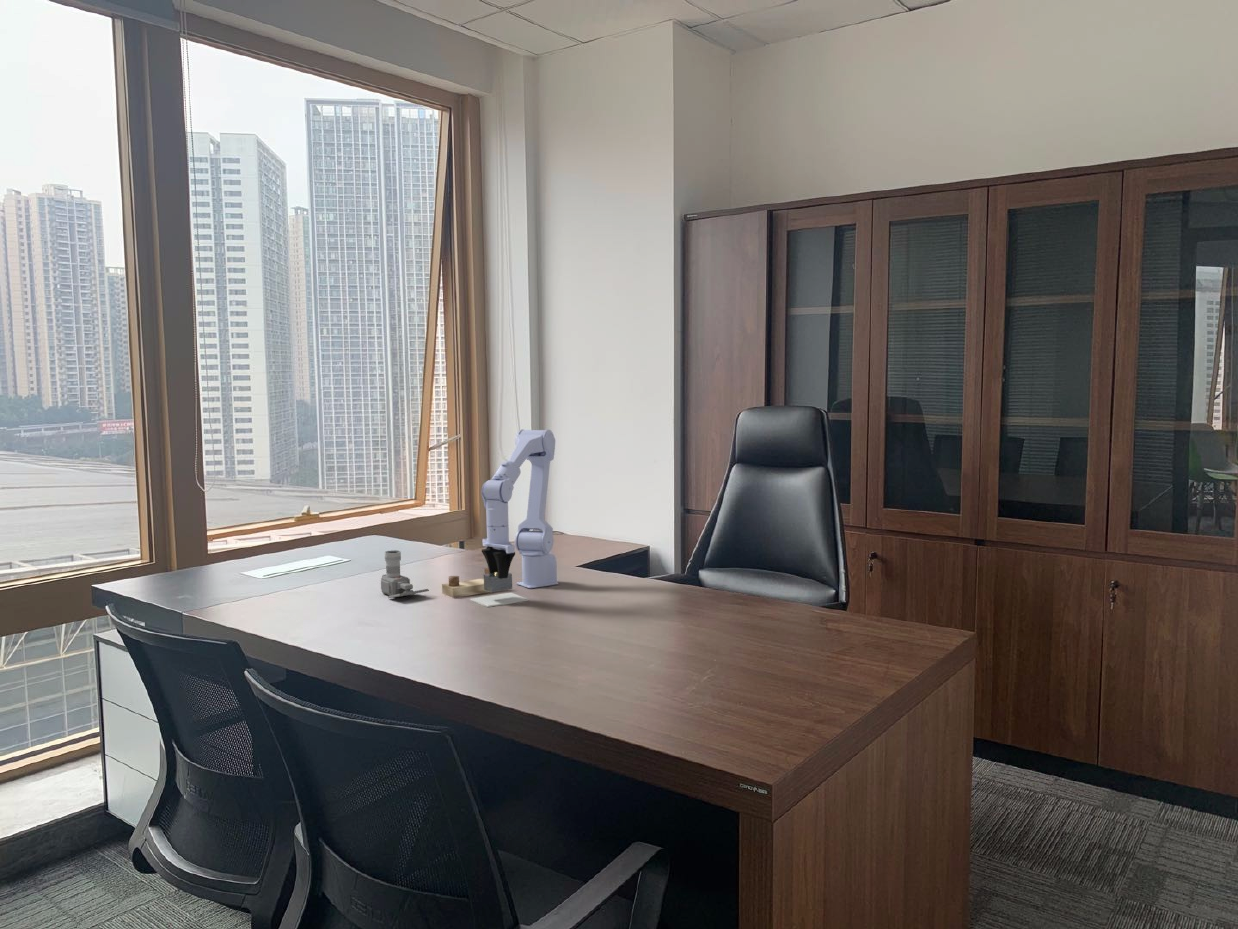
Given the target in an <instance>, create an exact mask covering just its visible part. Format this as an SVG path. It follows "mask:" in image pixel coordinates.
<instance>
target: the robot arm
mask: <svg viewBox="0 0 1238 929" xmlns="http://www.w3.org/2000/svg"><path fill="white" fill-rule="evenodd" d="M514 441H515V442H514V443H515V447H514V448H513V450H512V452H511V454H510V456H509V459H508V460H505V461H502V462H501V465H500V466H499V467H498V469H497V470H496V471H495V473H494V475H493V476H492V478H491V479H489V480H487V481H485V482H484V483H483V484H482V487H481V491H480V494H481V495H480V496H481V498H482V500H483V506H484V509H485V510H486V511H485V512H486V513H485V514H486V538H482V541H481V542H482V547H486V548H483V549H481V553H482V555H483V556H484V559H485V561H486V564H487V568H489V572H490V573H495V572H498V575H499V578H500V579H503V578H507V577H508V573H510V568H511V564H512V562H513V559H514V557H515V556H516V551H518V553H519V555H521V575H522V576H521V579H522V581H517V582H516V585H519V586H521V587H525V588H527V589H533V588H535V589H536V588H541V587H547V586H548V587H549V586H553V585H559V581H558V572H557V570H558V569H557V559H556V555H555V554H554V553H553V552H552V549H553V547H554V536H553V533H554V532H553V531H554V528H553V527H552V526H551V524H549V523H548V522H547V521H546V520H545V519H546V518H545V516H546V507H547V505H546V504H547V497H548V496H547V495H548V486H549V475H550V465H551V464H550V463H551V462H552V461H554V458H555V449H556V438H555V435H554V433H553V432H552V430H551V429H535V430H534V429H519V430H518V432H517V434H515V439H514ZM526 460H527V461H529V462H530V464H531V470H530V480H529V492H528V499H527V500H528V501H527V510H526V517H525V518H526V519H524V520H523V521H522V522H521V523H519V524H518V525H517V530H516V534H515V536H514V544H512V543H511V542H510V530H509V529H510V528H509V501H510V500H511V499H512V496H513V492H514V491H513V490H514V486H515V483H516V482H517V481H518V479H519V477H520V475H521V468H520V467H522V465H523V464H524V462H525V461H526ZM515 548H516V549H515ZM515 550H516V551H515Z"/></svg>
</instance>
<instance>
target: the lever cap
mask: <svg viewBox="0 0 1238 929" xmlns="http://www.w3.org/2000/svg"><path fill="white" fill-rule="evenodd" d="M512 574H513V573H510V572H509V573H508V577H507V578H503V579H500V578H499V575H498V572H495V573H489V574H485V573H484V574H483V578H484V589H485V590H487V591H490V592H489V593H495V592H496V593H497V592H501V591H506V590H507V591H508V590H513V575H512Z"/></svg>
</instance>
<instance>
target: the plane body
mask: <svg viewBox="0 0 1238 929" xmlns="http://www.w3.org/2000/svg"><path fill="white" fill-rule="evenodd" d="M489 573H490V572H489V568H488V567H485V568H484V574H489ZM441 592H442V593H441V594H443V595H445V596H447V597H450V598H452V599H453V598H462V597H469V596H474V595H475V596H476V595H481V594H488V593H491V592H490V591H487V590H485V589H484V577H483V578H476V579H470V580H463V581H462V580H461V581H460V576H459V575H450V576H448V583H443V584H441Z"/></svg>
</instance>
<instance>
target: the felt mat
mask: <svg viewBox="0 0 1238 929" xmlns="http://www.w3.org/2000/svg"><path fill="white" fill-rule="evenodd" d="M470 601H471V602H474V603H476V604H478V605H481V606H483V607H486V608H490V607H497V606H503V605H509V604H516V603H522V602H528V601H529V598H527V597H525V596H521V595H519V594H516V593H514V592H505V593H500V594H493V595H486V596H480V597H479V596H478V597H473V598H470Z"/></svg>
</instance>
